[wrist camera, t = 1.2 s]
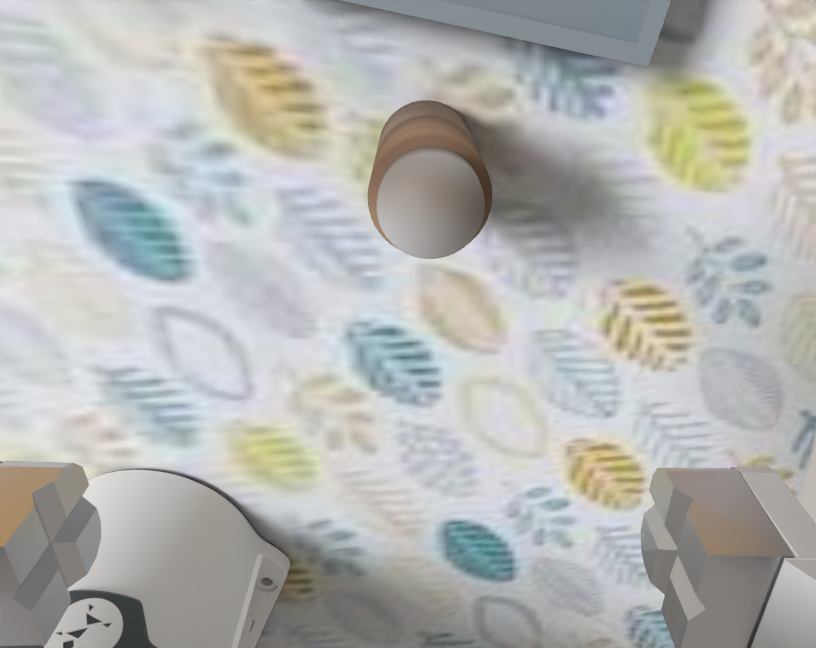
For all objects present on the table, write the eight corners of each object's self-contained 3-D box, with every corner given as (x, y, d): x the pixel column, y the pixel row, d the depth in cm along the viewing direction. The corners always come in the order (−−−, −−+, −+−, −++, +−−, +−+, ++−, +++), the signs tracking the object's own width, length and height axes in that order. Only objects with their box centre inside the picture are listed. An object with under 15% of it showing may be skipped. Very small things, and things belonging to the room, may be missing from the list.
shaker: (460, 203, 34) (478, 278, 25) (371, 186, 33) (356, 255, 24) (482, 111, 32) (510, 156, 23) (387, 91, 31) (377, 129, 22)
